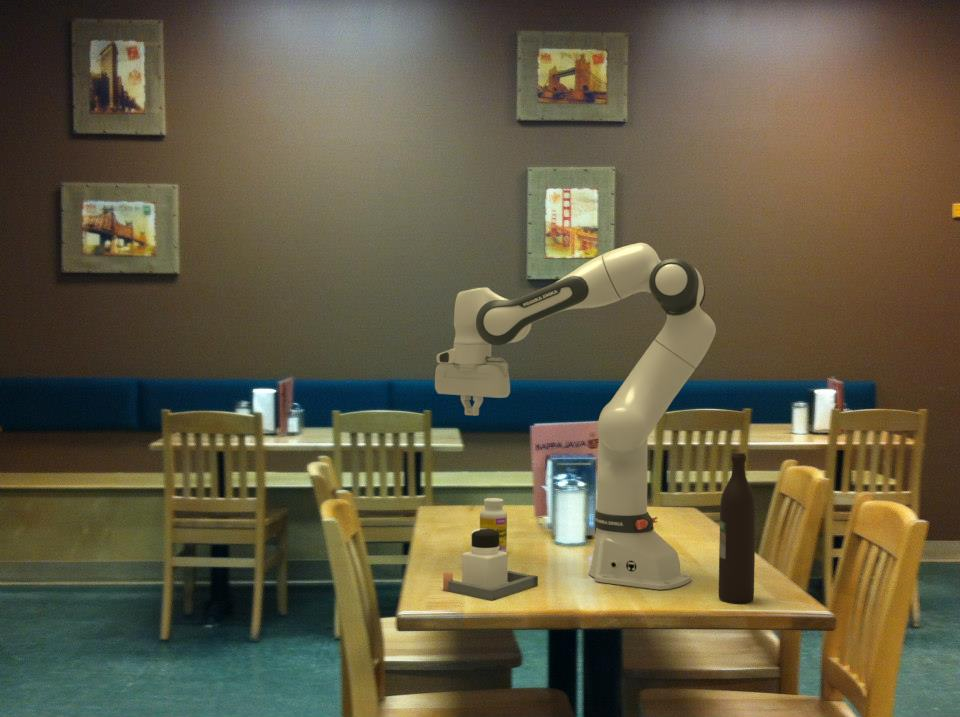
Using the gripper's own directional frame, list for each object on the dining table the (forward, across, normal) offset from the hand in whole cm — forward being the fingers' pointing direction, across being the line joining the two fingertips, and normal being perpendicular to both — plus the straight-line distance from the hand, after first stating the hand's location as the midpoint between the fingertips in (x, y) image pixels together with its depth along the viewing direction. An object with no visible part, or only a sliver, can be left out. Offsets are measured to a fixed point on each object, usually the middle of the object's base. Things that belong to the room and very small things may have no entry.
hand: (471, 415), depth 254 cm
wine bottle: (+34, -64, -7) cm, 73 cm away
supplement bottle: (+34, +1, -10) cm, 36 cm away
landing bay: (+34, -21, +18) cm, 44 cm away
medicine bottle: (+34, -18, +17) cm, 43 cm away
